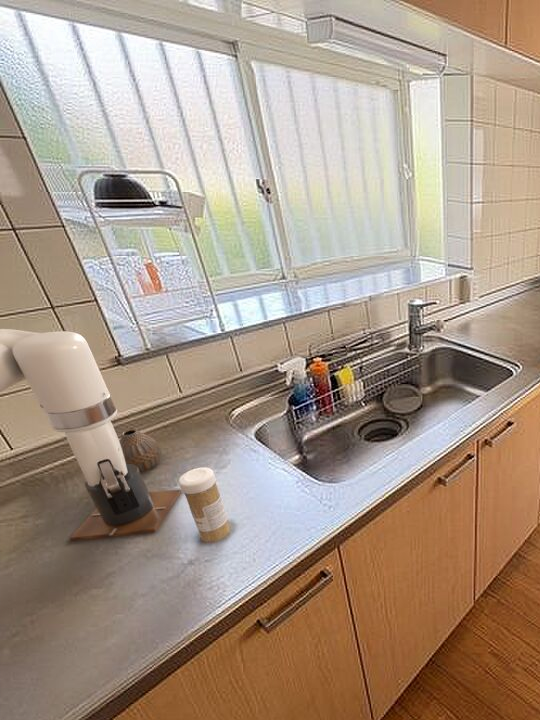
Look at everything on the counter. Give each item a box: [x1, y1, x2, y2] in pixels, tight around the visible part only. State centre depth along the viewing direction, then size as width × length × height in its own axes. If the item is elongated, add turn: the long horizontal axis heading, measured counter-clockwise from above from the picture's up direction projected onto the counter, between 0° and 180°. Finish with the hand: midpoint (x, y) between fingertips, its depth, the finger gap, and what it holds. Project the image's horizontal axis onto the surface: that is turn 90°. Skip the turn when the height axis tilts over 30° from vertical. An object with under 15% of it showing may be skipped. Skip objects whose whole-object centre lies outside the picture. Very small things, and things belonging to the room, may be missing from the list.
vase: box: [119, 428, 162, 473], centre depth 85 cm, size 7×7×9 cm
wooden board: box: [69, 489, 183, 542], centre depth 75 cm, size 12×11×2 cm
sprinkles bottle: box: [178, 467, 232, 543], centre depth 70 cm, size 5×5×14 cm
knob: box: [84, 464, 153, 526], centre depth 72 cm, size 7×7×8 cm
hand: (123, 497), depth 73 cm, fingers closed on knob, 6 cm apart
